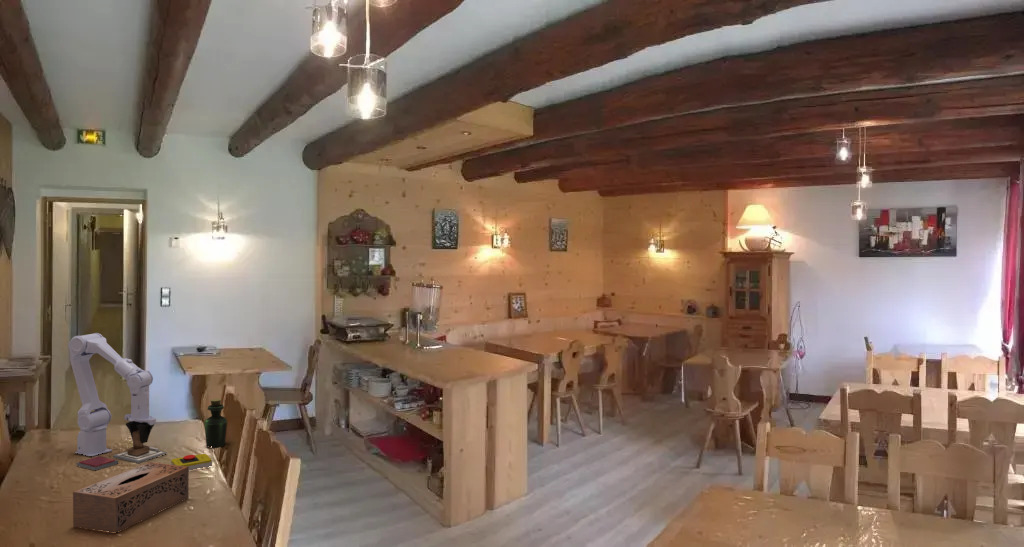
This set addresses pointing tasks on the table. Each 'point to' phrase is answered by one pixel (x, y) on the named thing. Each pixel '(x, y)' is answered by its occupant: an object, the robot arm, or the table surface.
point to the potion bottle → (215, 425)
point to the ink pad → (97, 463)
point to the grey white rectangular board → (152, 454)
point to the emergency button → (193, 461)
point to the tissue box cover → (130, 496)
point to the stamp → (137, 446)
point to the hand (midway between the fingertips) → (140, 441)
